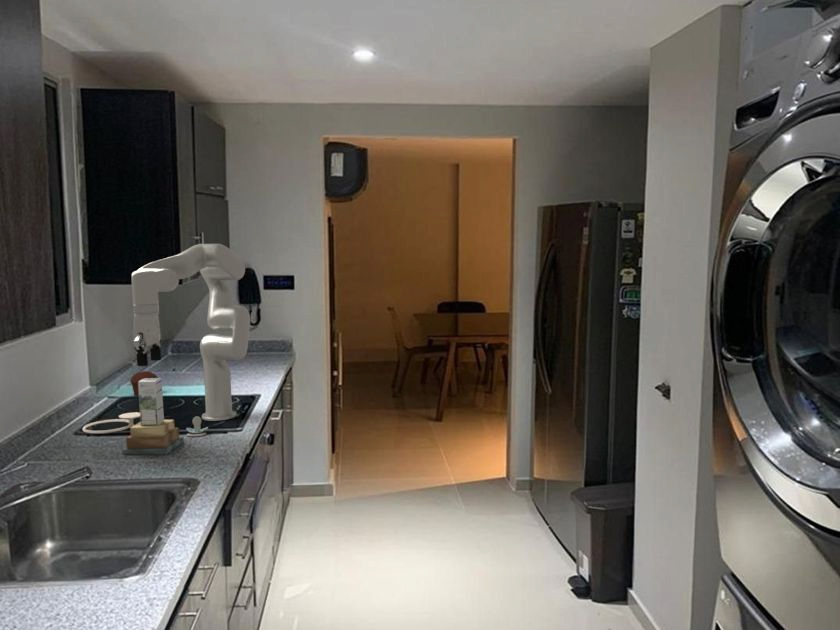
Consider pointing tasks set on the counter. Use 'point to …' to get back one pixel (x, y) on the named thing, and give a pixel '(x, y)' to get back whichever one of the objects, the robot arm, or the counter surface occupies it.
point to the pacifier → (196, 428)
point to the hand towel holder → (123, 417)
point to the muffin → (138, 377)
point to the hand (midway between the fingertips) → (149, 362)
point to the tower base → (153, 438)
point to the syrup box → (151, 401)
